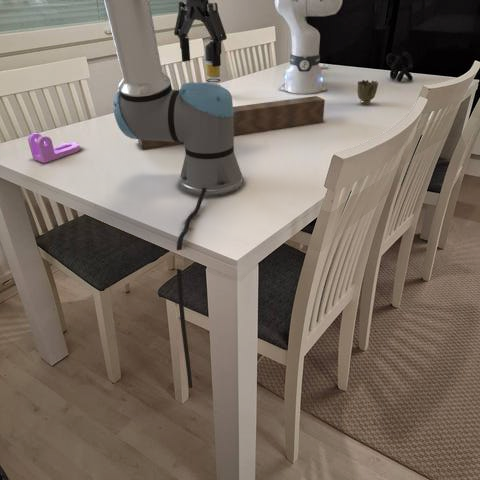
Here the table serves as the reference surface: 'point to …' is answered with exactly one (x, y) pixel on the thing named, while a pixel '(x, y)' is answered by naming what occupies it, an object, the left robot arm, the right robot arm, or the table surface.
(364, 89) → the cup
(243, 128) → the post
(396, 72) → the squiggle
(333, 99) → the table surface
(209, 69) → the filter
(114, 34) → the left robot arm
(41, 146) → the bracket
